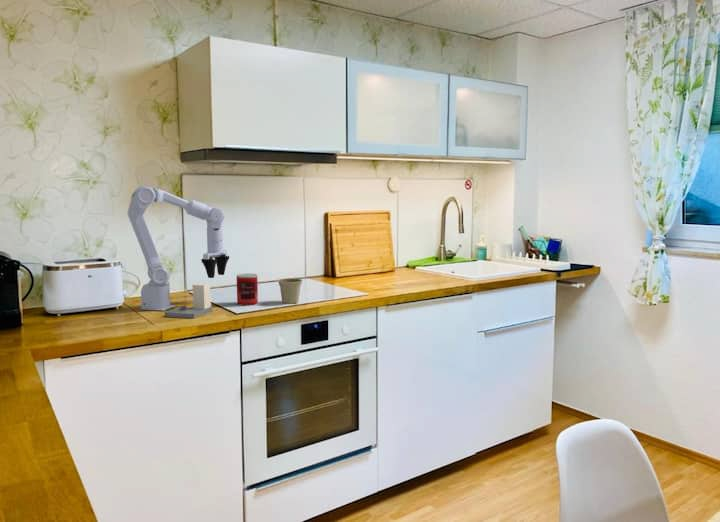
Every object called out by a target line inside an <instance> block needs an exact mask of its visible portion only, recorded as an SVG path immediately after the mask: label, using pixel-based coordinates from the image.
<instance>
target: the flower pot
mask: <svg viewBox="0 0 720 522" xmlns="http://www.w3.org/2000/svg"><path fill="white" fill-rule="evenodd" d="M277 282H278V286H279V290H280V296H281V302H282V303H283V304H286V305H287V304H289V305H292V303H293V304H294V303H295V304H298V303H299V300H300V293H301V292H300V291H301V286H302V282H303V279H301V278H281V279H277Z"/></svg>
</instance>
